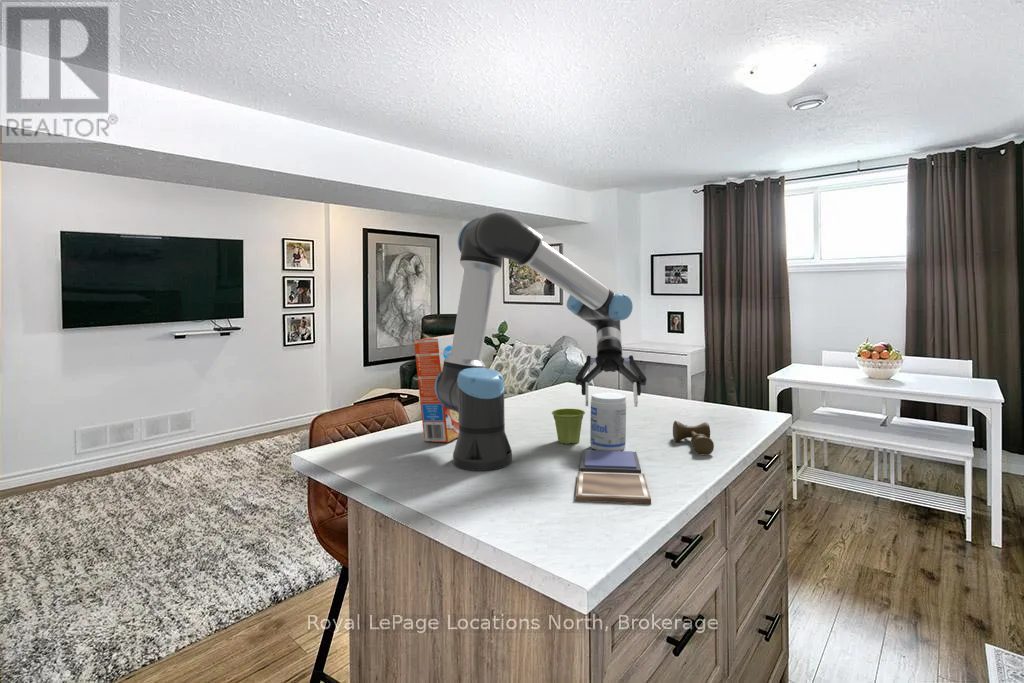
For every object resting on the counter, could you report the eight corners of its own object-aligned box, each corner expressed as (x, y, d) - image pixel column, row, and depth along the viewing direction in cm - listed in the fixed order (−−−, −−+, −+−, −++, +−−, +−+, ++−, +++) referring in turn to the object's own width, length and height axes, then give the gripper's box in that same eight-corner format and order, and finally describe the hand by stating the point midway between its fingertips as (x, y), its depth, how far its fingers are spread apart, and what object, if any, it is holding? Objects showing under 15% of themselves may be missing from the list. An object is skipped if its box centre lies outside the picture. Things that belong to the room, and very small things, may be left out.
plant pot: (576, 448, 143) (576, 417, 142) (546, 443, 148) (545, 413, 147) (590, 439, 151) (590, 410, 150) (561, 435, 156) (561, 407, 155)
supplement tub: (584, 449, 142) (583, 396, 140) (601, 441, 149) (600, 390, 148) (616, 455, 136) (615, 400, 134) (632, 446, 143) (632, 394, 142)
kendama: (684, 457, 135) (668, 434, 154) (723, 459, 134) (702, 435, 153) (685, 435, 134) (669, 415, 154) (724, 436, 133) (703, 416, 153)
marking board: (578, 475, 121) (578, 471, 121) (644, 477, 118) (644, 473, 118) (575, 500, 106) (575, 495, 106) (651, 503, 104) (651, 498, 104)
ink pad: (581, 454, 136) (581, 448, 136) (636, 456, 134) (636, 450, 134) (580, 472, 123) (580, 466, 123) (641, 474, 120) (641, 468, 120)
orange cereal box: (448, 442, 149) (437, 338, 147) (424, 441, 152) (413, 340, 151) (483, 423, 170) (474, 332, 168) (461, 423, 173) (452, 334, 172)
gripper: (649, 352, 160) (655, 411, 147) (568, 353, 164) (567, 410, 150) (651, 337, 154) (658, 396, 141) (567, 338, 158) (566, 396, 145)
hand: (611, 404), depth 146 cm, fingers open, 13 cm apart
